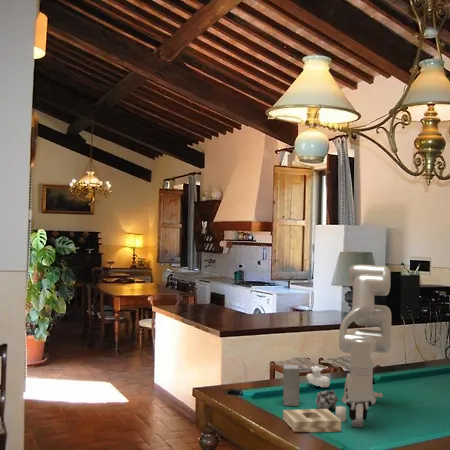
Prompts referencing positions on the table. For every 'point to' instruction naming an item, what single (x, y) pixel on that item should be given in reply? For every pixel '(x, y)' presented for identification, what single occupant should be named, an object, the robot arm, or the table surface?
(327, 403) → the mineral specimen
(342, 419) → the short white pin
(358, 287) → the robot arm
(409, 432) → the table surface
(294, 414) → the hole slab
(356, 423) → the grey beige post
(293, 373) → the skincare box
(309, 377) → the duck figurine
